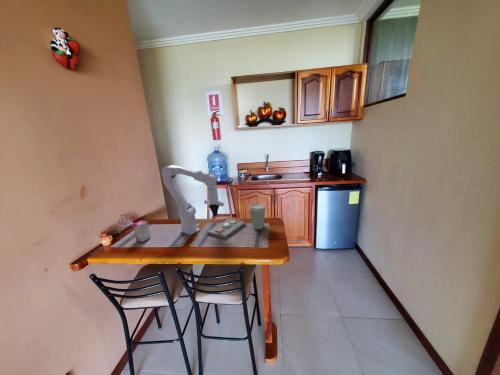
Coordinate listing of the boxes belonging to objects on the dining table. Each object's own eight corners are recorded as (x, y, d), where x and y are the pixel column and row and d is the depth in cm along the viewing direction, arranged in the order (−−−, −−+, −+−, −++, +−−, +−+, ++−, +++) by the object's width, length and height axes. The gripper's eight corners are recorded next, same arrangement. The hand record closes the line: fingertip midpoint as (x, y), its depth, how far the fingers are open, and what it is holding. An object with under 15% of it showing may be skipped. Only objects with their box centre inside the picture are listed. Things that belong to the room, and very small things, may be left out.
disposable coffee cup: (264, 223, 132) (263, 201, 128) (268, 230, 122) (267, 207, 118) (249, 224, 131) (247, 203, 127) (251, 232, 120) (249, 209, 117)
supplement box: (151, 238, 122) (147, 221, 119) (142, 242, 116) (138, 225, 114) (144, 236, 124) (141, 219, 121) (136, 241, 119) (132, 223, 116)
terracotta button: (215, 233, 120) (215, 230, 120) (220, 230, 124) (219, 228, 123) (220, 235, 118) (220, 232, 118) (225, 232, 121) (224, 229, 121)
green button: (228, 225, 131) (228, 222, 130) (232, 222, 134) (232, 220, 134) (233, 226, 129) (233, 223, 128) (237, 223, 132) (237, 221, 131)
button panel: (207, 234, 121) (207, 231, 121) (228, 221, 138) (228, 218, 138) (225, 239, 114) (224, 236, 114) (245, 224, 131) (244, 222, 131)
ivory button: (222, 227, 125) (222, 225, 125) (226, 225, 129) (226, 222, 128) (227, 229, 123) (227, 226, 123) (231, 226, 126) (231, 223, 126)
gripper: (199, 195, 120) (202, 215, 124) (217, 197, 113) (220, 219, 116) (207, 192, 126) (210, 212, 129) (225, 194, 118) (227, 215, 122)
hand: (215, 215), depth 123 cm, fingers closed
